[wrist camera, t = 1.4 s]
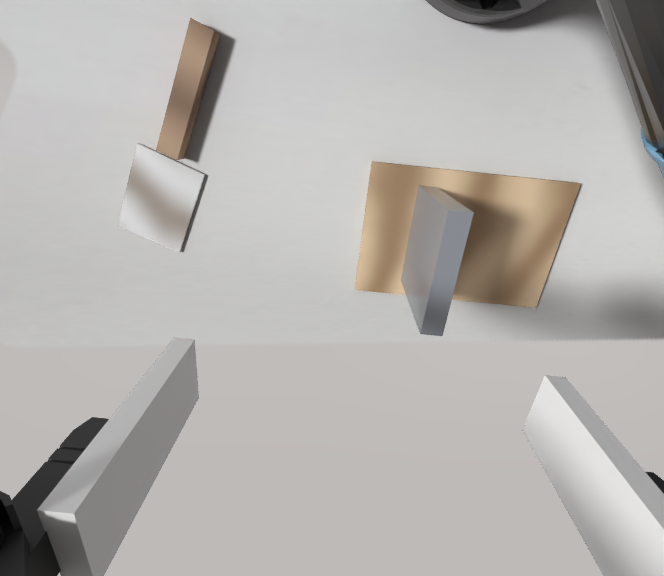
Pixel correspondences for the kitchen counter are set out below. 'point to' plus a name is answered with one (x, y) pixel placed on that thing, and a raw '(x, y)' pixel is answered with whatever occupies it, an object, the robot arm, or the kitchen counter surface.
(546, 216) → the board
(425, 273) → the tile
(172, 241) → the turner
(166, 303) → the kitchen counter surface
